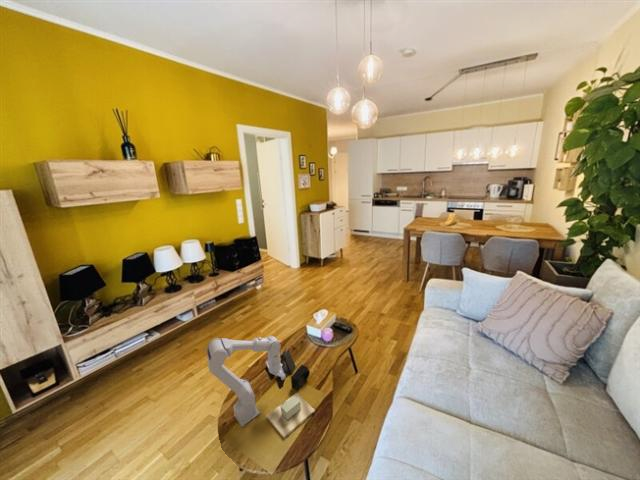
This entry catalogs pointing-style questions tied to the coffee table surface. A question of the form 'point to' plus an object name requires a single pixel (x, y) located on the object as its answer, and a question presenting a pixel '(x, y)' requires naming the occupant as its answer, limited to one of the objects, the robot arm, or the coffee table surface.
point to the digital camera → (300, 377)
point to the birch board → (290, 425)
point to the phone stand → (287, 362)
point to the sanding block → (290, 408)
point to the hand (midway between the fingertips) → (276, 383)
